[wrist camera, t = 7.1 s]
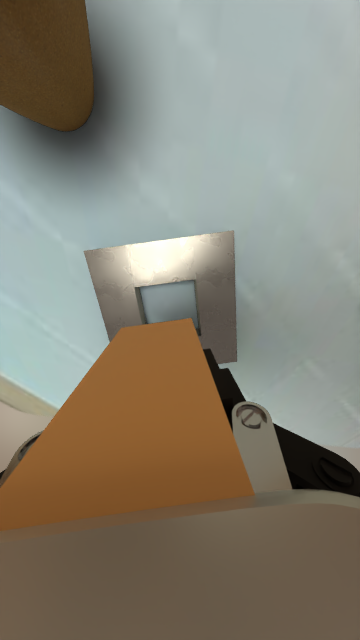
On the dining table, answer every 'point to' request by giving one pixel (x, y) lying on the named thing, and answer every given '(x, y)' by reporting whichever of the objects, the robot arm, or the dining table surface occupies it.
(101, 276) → the grey square frame
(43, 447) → the orange rectangular block
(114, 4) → the dining table surface
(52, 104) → the plant pot
